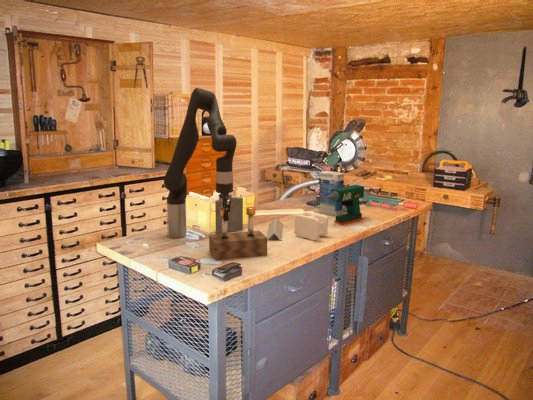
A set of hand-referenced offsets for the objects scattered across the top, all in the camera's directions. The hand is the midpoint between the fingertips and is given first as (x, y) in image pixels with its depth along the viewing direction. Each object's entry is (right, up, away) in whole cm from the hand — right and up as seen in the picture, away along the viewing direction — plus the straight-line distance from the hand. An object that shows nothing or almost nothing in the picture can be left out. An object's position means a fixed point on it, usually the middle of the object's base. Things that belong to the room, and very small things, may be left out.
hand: (224, 219), depth 194 cm
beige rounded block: (+41, -10, +32) cm, 53 cm away
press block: (+6, -16, +6) cm, 18 cm away
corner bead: (+23, -9, +38) cm, 46 cm away
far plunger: (+11, -10, +6) cm, 16 cm away
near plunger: (0, -10, +3) cm, 11 cm away
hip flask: (-1, -8, +38) cm, 39 cm away
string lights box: (+58, 0, +76) cm, 95 cm away
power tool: (+61, -5, +56) cm, 83 cm away
